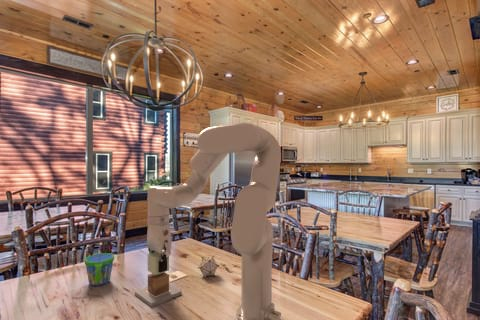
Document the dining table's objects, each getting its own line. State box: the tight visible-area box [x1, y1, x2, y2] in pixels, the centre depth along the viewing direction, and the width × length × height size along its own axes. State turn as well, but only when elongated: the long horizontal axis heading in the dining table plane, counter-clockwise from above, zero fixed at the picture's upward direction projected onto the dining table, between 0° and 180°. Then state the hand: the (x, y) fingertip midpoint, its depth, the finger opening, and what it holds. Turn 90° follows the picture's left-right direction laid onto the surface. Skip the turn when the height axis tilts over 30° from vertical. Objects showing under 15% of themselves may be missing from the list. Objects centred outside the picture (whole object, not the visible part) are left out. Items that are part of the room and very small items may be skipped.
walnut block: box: [147, 272, 170, 296], centre depth 100 cm, size 6×6×6 cm
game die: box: [197, 255, 220, 279], centre depth 116 cm, size 9×8×10 cm
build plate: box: [134, 283, 183, 308], centre depth 100 cm, size 12×12×1 cm
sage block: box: [147, 250, 170, 275], centre depth 100 cm, size 6×6×6 cm
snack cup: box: [84, 252, 115, 287], centre depth 110 cm, size 16×10×10 cm
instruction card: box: [168, 270, 189, 284], centre depth 115 cm, size 7×10×1 cm
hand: (158, 268), depth 100 cm, fingers closed on sage block, 5 cm apart
